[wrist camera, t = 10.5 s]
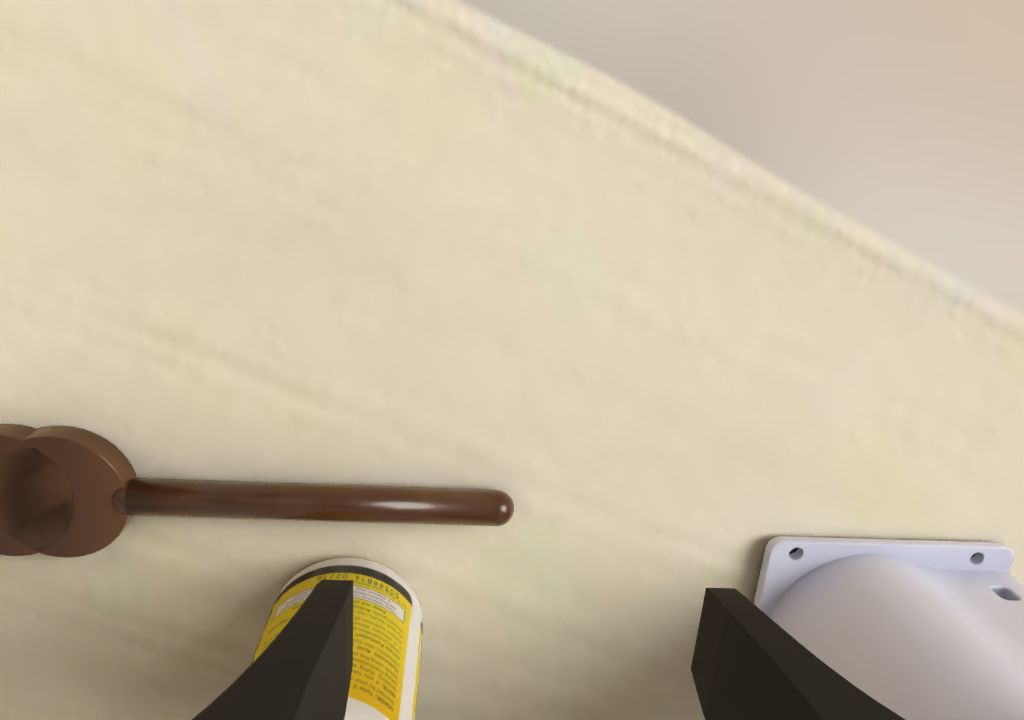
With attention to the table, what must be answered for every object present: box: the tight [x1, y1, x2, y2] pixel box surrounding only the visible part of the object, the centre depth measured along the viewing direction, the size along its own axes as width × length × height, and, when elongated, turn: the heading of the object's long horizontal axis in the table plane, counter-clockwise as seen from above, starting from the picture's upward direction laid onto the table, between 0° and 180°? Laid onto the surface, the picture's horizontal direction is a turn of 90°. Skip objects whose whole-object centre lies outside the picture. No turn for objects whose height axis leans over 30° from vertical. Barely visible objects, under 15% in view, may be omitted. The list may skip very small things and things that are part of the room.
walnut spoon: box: [0, 424, 514, 557], centre depth 24 cm, size 19×4×1 cm, turn 86°
